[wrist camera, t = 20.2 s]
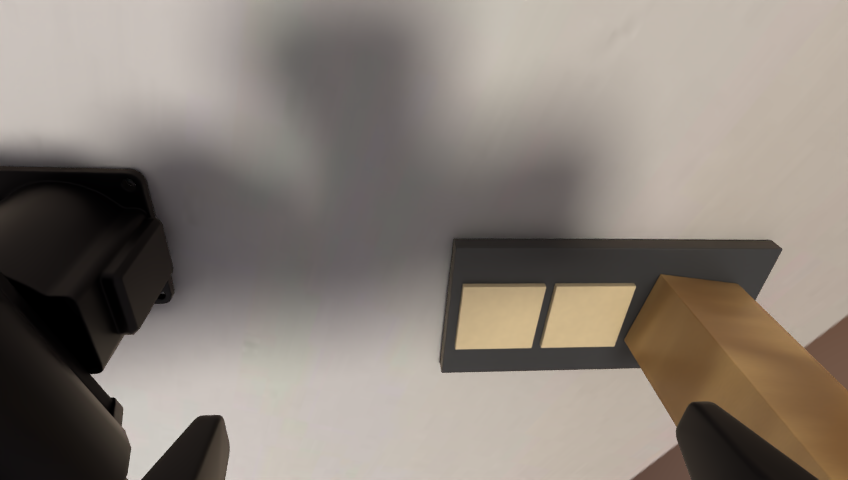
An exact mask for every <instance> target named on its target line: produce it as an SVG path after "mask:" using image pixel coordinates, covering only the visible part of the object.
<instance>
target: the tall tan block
mask: <svg viewBox="0 0 848 480" xmlns="http://www.w3.org/2000/svg"><path fill="white" fill-rule="evenodd" d="M624 341H625V343H626V344H627V346H628V348H629V349H630V351H631V353H632V354H633V356H634V358H635V359H636V361H637V363H638V364H639V366H640V367H641V369H642V371H643V372H644V374H645V376H646V377H647V379H648V381H649V382H650V384H651V385H652V387H653V389H654V390H655V392H656V394H657V395H658V397H659V399H660V400H661V402H662V404H663V405H664V407H665V408H666V410H667V412H668V413H669V415H670V417H671V418H672V420H673V422H674V423H675V425H676V427H677V425H678V423H679V421H680V419H681V418H682V416H683V414H684V412H685V410H686V408H687V406H688V405H689V404H690V403H691V402H699V401H709V402H713V403H715V404H717V405H718V406H719V407H721V408H722V409H724V410H725V411H726V412H728V413H729V414H730V415H732V416H733V417H734V418H736V419H737V420H739V421H740V422H741V423H743V424H744V425H745V426H747V427H748V428H749V429H751V430H752V431H754V432H755V433H756V434H758V435H759V436H760V437H762V438H763V439H764V440H766V441H767V442H769V443H770V444H771V445H773V446H774V447H775V448H777V449H778V450H779V451H781V452H782V453H784V454H785V455H786V456H788V457H789V458H790V459H792V460H793V461H794V462H796V463H797V464H798V465H800V466H801V467H803V468H804V469H805V470H807V471H808V472H809V473H811V474H812V475H813V476H815V477H816V478H818V479H819V480H848V391H847V390H846V389H845V388H844V387H843V386H842V385H841V384H840V383H839V382H838V381H837V380H836V379H835V378H834V377H833V376H832V375H831V374H830V373H829V372H828V371H827V370H826V369H825V368H824V367H823V366H821V364H819V362H817V360H815V358H813V357H812V356H811V355H810V354H809V353H808V352H807V351H806V350H805V349H804V348H803V347H802V346H801V345H800V344H799V343H798V342H797V341H796V340H795V339H794V338H793V337H792V336H791V335H790V334H789V333H788V332H787V331H786V330H785V329H784V328H783V327H782V326H781V325H780V324H779V323H778V322H777V321H776V320H775V319H774V318H772V317H771V316H770V315H769V314H768V313H767V312H766V311H765V310H764V309H763V308H762V307H761V306H760V305H759V304H758V303H757V302H756V301H755V300H754V299H753V298H752V297H751V296H750V295H749V294H748V293H747V292H746V291H745V290H744V289H743V288H742V287H741V286H740V285H739V284H736V283H728V282H720V281H712V280H704V279H696V278H688V277H680V276H672V275H664V274H660V276H659V278H658V279H657V281H656V283H655V285H654V287H653V288H652V290H651V292H650V294H649V296H648V297H647V299H646V301H645V303H644V305H643V306H642V308H641V310H640V312H639V314H638V315H637V317H636V319H635V321H634V323H633V324H632V326H631V328H630V330H629V332H628V333H627V335H626V337H625V339H624Z"/></svg>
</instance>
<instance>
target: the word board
mask: <svg viewBox="0 0 848 480" xmlns="http://www.w3.org/2000/svg"><path fill="white" fill-rule="evenodd" d="M781 251H782V248H781V247H779V246H778V245H777V244H775V243H774V242H773V241H753V240H589V239H454V241H453V250H452V259H451V268H450V277H449V286H448V295H447V304H446V313H445V322H444V331H443V340H442V349H441V358H440V365H441V372H442V373H451V372H493V371H536V370H578V369H620V368H641V367H640V366H639V364H638V363H637V361H636V359H635V358H634V356H633V354H632V353H631V351H630V349H629V348H628V346H627V344H626V343H625V341H624V339H625V337H626V335H627V333H628V332H629V330H630V328H631V326H632V324H633V323H634V321H635V319H636V317H637V315H638V314H639V312H640V310H641V308H642V306H643V305H644V303H645V301H646V299H647V297H648V296H649V294H650V292H651V290H652V288H653V287H654V285H655V283H656V281H657V279H658V278H659V276H660V274H664V275H672V276H680V277H688V278H696V279H704V280H712V281H720V282H728V283H736V284H739V285H740V286H741V287H742V288H743V289H744V290H745V291H746V292H747V293H748V294H749V295H750V296H751V297H752V298H753V299H754V300H756V298H757V296H758V294H759V292H760V290H761V288H762V287H763V285H764V283H765V281H766V279H767V277H768V275H769V274H770V272H771V270H772V268H773V266H774V264H775V262H776V261H777V259H778V257H779V255H780V253H781Z"/></svg>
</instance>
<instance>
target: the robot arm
mask: <svg viewBox="0 0 848 480" xmlns="http://www.w3.org/2000/svg"><path fill="white" fill-rule="evenodd" d="M126 179H130V180H132V181H133V182H134V183H135V185H136V186H131V185H129V184H128V183H127V181H126ZM172 272H173V264H172V261H171V257H170V253H169V249H168V245H167V241H166V237H165V233H164V229H163V225H162V223H161V222H160V221H159V220H158V219H157V218H156V217H155V213H154V209H153V205H152V201H151V198H150V194H149V190H148V186H147V182H146V179H145V177H144V176H143V175H142V174H141V173H140V172H138V171H136V170H133V169H110V168H60V167H11V166H0V480H128V479H127V478H126V476H127V473H128V466H129V460H130V453H131V446H130V443H129V440H128V437H127V435H126V432H125V430H124V429H123V428H122V417H123V407H122V406H121V404H120V403H119V402H118V401H117V400H116V399H115V398H110V397H109V396H108V395H107V393H106V392H105V391H104V390H103V389H102V388H101V386H100V385H99V384H98V383H97V382H96V381H95V380H94V378H93V377H92V376H91V375H90V374H97V373H101V372H102V371H103V369H104V368H105V366H106V365H107V363H108V361H109V360H110V358H111V356H112V355H113V353H114V351H115V350H116V348H117V346H118V345H119V343H120V341H121V340H122V338H123V337H124V335H134V334H135V333H136V332H137V331H138V330H139V329H140V327H141V326H142V324H143V322H144V320H145V319H146V317H147V315H148V314H149V312H150V310H151V308H152V307H153V305H154V304H163V303H167V302H169V301H170V300H171V298H172V296H173V295H174V286H173V282H172V278H171V274H172ZM161 291H162V292H164V293H165V294H161ZM676 437H677V441H678V444H679V446H680V449H681V452H682V455H683V457H684V461H685V463H686V466H687V469H688V472H689V475H690V477H691V480H819V479H818V478H816V477H815V476H813V475H812V474H811V473H809V472H808V471H807V470H805V469H804V468H803V467H801V466H800V465H798V464H797V463H796V462H794V461H793V460H792V459H790V458H789V457H788V456H786V455H785V454H784V453H782V452H781V451H779V450H778V449H777V448H775V447H774V446H773V445H771V444H770V443H769V442H767V441H766V440H764V439H763V438H762V437H760V436H759V435H758V434H756V433H755V432H754V431H752V430H751V429H749V428H748V427H747V426H745V425H744V424H743V423H741V422H740V421H739V420H737V419H736V418H734V417H733V416H732V415H730V414H729V413H728V412H726V411H725V410H724V409H722V408H721V407H719V406H718V405H717V404H715V403H713V402H709V401H699V402H691V403H690V404H689V405H688V406H687V408H686V410H685V412H684V414H683V416H682V418H681V419H680V421H679V423H678V425H677V428H676ZM229 451H230V446H229V439H228V435H227V431H226V426H225V422H224V419H223V417H222V416H220V415H204V416H199V417H197V418H196V419H195V420H194V421H193V422H192V423H191V424H190V425H189V427H188V428H187V429H186V430H185V431H184V432H183V433H182V434H181V436H180V437H179V438H178V439H177V440H176V441H175V442H174V443H173V445H172V446H171V447H170V448H169V449H168V450H167V451H166V452H165V454H164V455H163V456H162V457H161V458H160V459H159V460H158V461H157V463H156V464H155V465H154V466H153V467H152V468H151V469H150V470H149V472H148V473H147V474H146V475H145V476H144V477H143V478H142V479H141V480H225V476H226V470H227V465H228V459H229Z"/></svg>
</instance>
